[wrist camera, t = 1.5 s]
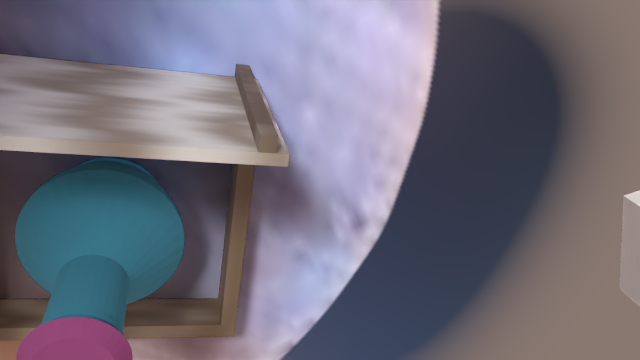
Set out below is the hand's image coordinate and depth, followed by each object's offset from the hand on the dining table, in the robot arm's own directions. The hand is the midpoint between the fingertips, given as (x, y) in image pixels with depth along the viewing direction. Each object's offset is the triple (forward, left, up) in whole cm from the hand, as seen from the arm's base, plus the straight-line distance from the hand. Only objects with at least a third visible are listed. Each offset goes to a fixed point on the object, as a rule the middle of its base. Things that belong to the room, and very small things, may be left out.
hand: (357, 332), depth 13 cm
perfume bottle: (-8, -11, -26) cm, 29 cm away
